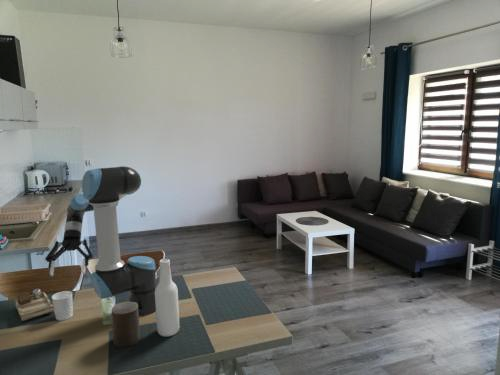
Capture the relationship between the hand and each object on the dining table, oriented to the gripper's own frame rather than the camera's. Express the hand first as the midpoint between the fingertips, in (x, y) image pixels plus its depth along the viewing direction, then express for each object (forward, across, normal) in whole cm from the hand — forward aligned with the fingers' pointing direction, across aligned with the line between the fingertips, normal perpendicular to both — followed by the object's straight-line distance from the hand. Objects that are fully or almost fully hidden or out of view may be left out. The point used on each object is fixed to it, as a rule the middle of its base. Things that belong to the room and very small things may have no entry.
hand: (67, 273), depth 165 cm
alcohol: (+34, -44, +13) cm, 57 cm away
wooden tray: (+13, +14, -9) cm, 21 cm away
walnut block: (+8, +19, -9) cm, 23 cm away
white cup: (+18, 0, -3) cm, 19 cm away
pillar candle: (+35, -29, +14) cm, 48 cm away
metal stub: (+6, +15, -11) cm, 20 cm away
